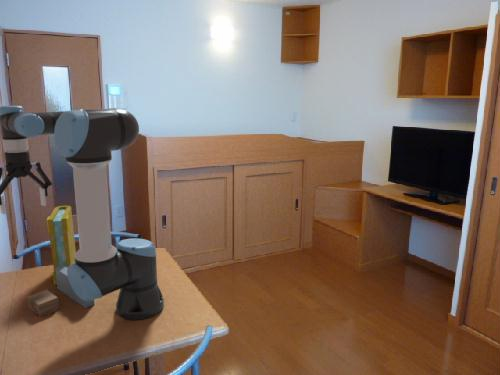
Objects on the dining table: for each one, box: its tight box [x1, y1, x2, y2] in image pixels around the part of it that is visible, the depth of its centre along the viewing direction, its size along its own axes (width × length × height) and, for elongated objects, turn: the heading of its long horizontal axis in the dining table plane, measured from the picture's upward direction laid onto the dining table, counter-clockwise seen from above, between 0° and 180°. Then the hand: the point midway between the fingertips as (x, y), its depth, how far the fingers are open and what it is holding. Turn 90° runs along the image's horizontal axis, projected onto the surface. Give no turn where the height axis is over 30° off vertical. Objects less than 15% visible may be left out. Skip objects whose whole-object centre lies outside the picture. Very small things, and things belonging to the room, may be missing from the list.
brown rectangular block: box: [27, 289, 60, 318], centre depth 131 cm, size 8×6×4 cm
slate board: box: [55, 265, 95, 309], centre depth 138 cm, size 20×3×8 cm, turn 50°
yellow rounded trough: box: [45, 205, 77, 286], centre depth 153 cm, size 17×7×25 cm, turn 17°
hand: (24, 209), depth 145 cm, fingers open, 13 cm apart
